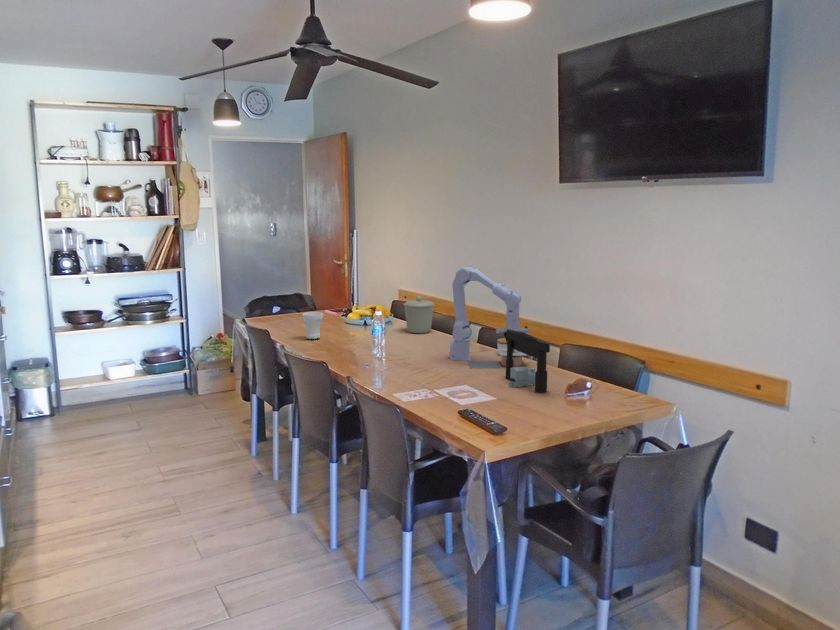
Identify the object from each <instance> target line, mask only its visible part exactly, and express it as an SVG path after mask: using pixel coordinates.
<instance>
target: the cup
mask: <svg viewBox="0 0 840 630" xmlns="http://www.w3.org/2000/svg"><path fill="white" fill-rule="evenodd" d="M301 316H302V320H303V322H304V325H305V329H306V331H305V332H306V333H305V338H306V340H308V339H311V340H313V339H316V340H318V339H317V338H320V339H321V330H320V329H321V325H322V320H323V318H324V313H323V312H320V311H308V312H303V313H302V315H301Z"/></svg>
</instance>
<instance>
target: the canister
mask: <svg viewBox="0 0 840 630" xmlns="http://www.w3.org/2000/svg"><path fill="white" fill-rule="evenodd" d="M435 305H436V304H435V303H434V302H433V301H431V300H427V299H425V300H424V299H423V297H422V296H421V295H417V296H416V297H415V299H411V300H407V301H406V302H404V303H403V307H404V313H405V315H404V316H405V323H406V328H407V331H408V332H409V333H411V334H427V333H429V332H430V331H431V329H432V323H433V316H434V315H433V314H434V308H435V307H434V306H435Z"/></svg>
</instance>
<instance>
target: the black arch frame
mask: <svg viewBox="0 0 840 630" xmlns="http://www.w3.org/2000/svg"><path fill="white" fill-rule="evenodd" d="M506 336H507V338H509V339H508V340H507V359H506V366H505V379H507V380H508V381H509V382H510V383H508V387H511V388H516V387H517V388H522V387H530V386H534V392H536V393H537V392H538V393H545V392H547V391H548V370H547V356H548V355H547V354H548V353H550V347H551V346H550V344H551V343H549V342H547V341H545V340H543V339H541V338H538V337H536V336H533V335H531V334H530V333H528V334H526V333H523V332H519V331H515V330H510V329H507V333H506ZM513 349H515V350H517V351H519V352H522V353H524V354H527V356H529V357H532V358H535V359H536V368H535V367H529V368H528V367H527V366H525V365H524V366H517V367H513V362H514V361H513ZM532 384H534V385H532ZM525 385H526V386H525Z"/></svg>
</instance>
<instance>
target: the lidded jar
mask: <svg viewBox="0 0 840 630" xmlns="http://www.w3.org/2000/svg"><path fill="white" fill-rule="evenodd" d="M496 344H497V345H496V346H497V349H507V342H506V339H505V337H502V338H498V339H497V340H496Z"/></svg>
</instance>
